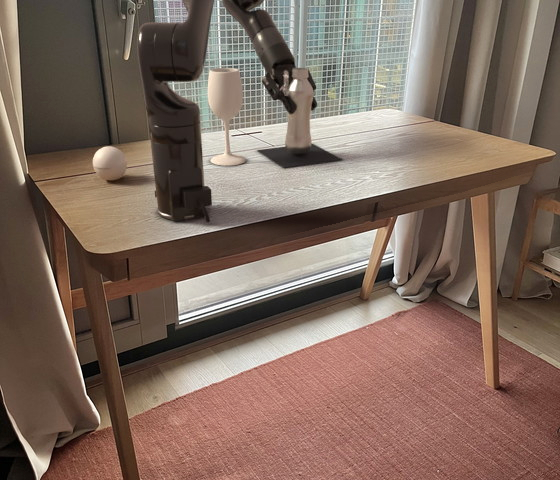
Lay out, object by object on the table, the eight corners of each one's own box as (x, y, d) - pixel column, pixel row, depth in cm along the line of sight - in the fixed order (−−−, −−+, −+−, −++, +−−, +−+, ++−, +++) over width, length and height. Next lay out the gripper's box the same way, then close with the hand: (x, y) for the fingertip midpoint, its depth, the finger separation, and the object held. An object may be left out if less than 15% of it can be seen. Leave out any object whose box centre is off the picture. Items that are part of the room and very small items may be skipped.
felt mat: (342, 160, 141) (342, 159, 141) (283, 168, 135) (283, 167, 135) (311, 144, 154) (311, 143, 153) (257, 151, 148) (257, 150, 148)
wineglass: (240, 167, 136) (237, 73, 125) (205, 164, 137) (200, 72, 127) (249, 157, 143) (247, 67, 132) (216, 154, 145) (211, 66, 134)
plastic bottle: (285, 148, 147) (287, 66, 137) (312, 149, 147) (315, 67, 136) (283, 156, 142) (284, 70, 131) (310, 157, 141) (314, 71, 131)
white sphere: (122, 172, 132) (118, 140, 128) (133, 181, 126) (129, 148, 123) (79, 179, 127) (73, 147, 123) (89, 189, 122) (83, 155, 118)
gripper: (256, 43, 132) (289, 104, 130) (302, 39, 140) (333, 97, 139) (243, 65, 138) (274, 123, 137) (288, 60, 146) (317, 115, 145)
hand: (304, 110), depth 138 cm, fingers closed on plastic bottle, 6 cm apart
